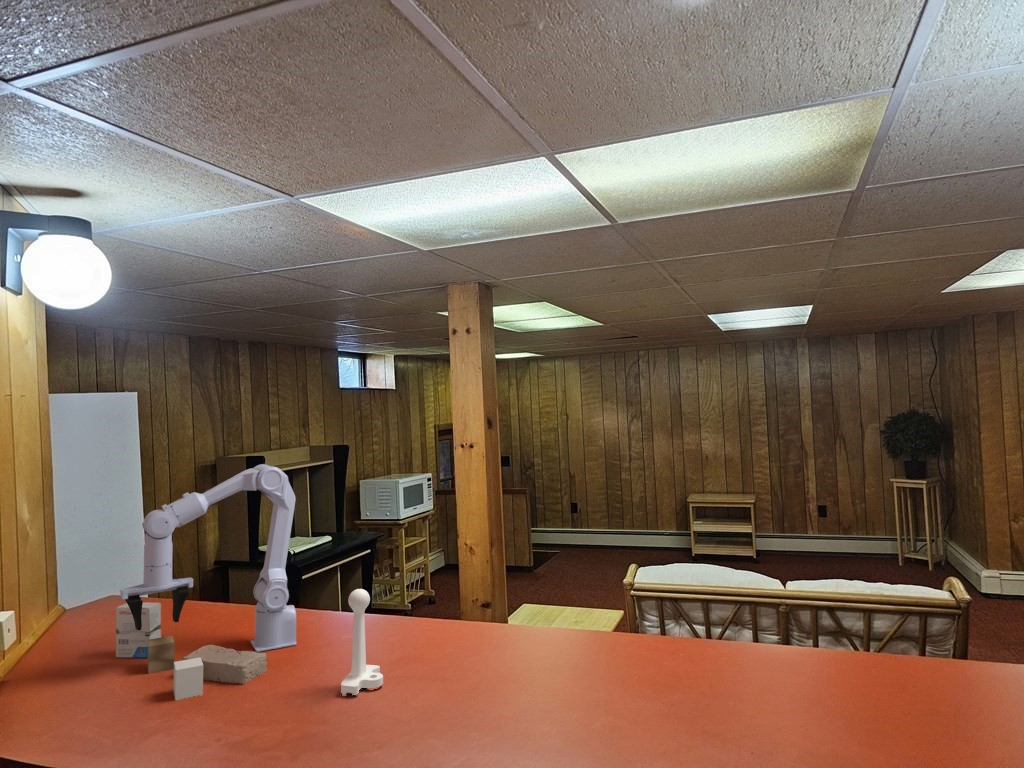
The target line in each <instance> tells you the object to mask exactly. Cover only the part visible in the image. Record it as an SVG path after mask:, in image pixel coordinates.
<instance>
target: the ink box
mask: <svg viewBox="0 0 1024 768" xmlns="http://www.w3.org/2000/svg"><path fill="white" fill-rule="evenodd" d="M161 605H162V603H161V602H146V601H145V602H144V601H143V604H142V613H141V620H142V628H141V630H137V629H135V622H134V618H133V615H132V613H131V610H130V608H129V606H128V604H127V602H125V603H124V604H121V605H119V606H117V607H116V608H115V617H116V618H115V657H116V658H134V659H137V658H139V659H142V658H144V659H148V640H149V639H156V638H162V611H161V610H162V606H161Z"/></svg>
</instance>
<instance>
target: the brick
mask: <svg viewBox="0 0 1024 768" xmlns="http://www.w3.org/2000/svg"><path fill="white" fill-rule="evenodd" d="M199 657H201V660H202V663H203V681H211V680H212V681H211V682H219V681H221V682H220V683H227V682H228V684H238V683H239V685H245V684H244V683H246V684H248V683H249V682H248V681H250V680H251V679H253V678H255V677H256V676H258V677H260V676H261V675H260V674H262V673H264V672H265V671H268V669H267V665H268V662H267V658H268V656H267V653H265V652H256V651H252V650H251V651H249V650H241V651H239V650H235V649H234V648H226V647H223V646H220V645H215V644H208V645H203V646H201V647H199V648H197V649H196V650H193V651H192V652H191V653H189V654H188V655H186V656H182V657H181V658H182V659H181V661H183V660H188V659H194V658H199ZM264 674H265V673H264ZM259 675H260V676H259ZM262 675H263V674H262ZM256 678H257V677H256ZM256 678H255V679H256ZM253 680H254V679H253ZM247 682H248V683H247ZM250 682H251V681H250Z"/></svg>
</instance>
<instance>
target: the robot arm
mask: <svg viewBox="0 0 1024 768" xmlns="http://www.w3.org/2000/svg"><path fill="white" fill-rule="evenodd" d="M257 490H258V491H259V492H261V493H264V495H265V496H266V497H267V498H268V499H269V500H270V501H271V503H272V504H273V505H272V512H271V518H270V524H269V530H268V537H267V538H268V539H267V544H266V550H265V555H264V563H263V568H262V569H261V571H260V572H259V577H258V579H257V581H256V583H255V585H254V587H253V591H252V593H253V596H254V598H255V600H256V601H257V603H256V606H255V607H254V639H252V640H250V644H251V646H252V647H253V649H254V650H255V651H254V652H257V653H261V652H266V651H270V650H274V649H280V648H281V649H282V648H286V647H292V646H296V645H297V611H296V608H295V605H293V604H289V605H287V604H288V601H289V599H290V594H289V592H290V591H289V589H288V576H287V573H286V567H287V566H286V565H287V558H288V553H289V546H290V542H291V541H290V540H291V533H292V526H293V519H294V513H295V507H296V506H295V505H296V495H295V492H294V490H293V488H292V486H291V484H290V481H289V476H288V475H287V474H286V473H285V472H284V471H283V470H281V469H280V468H279V467H277V466H270V465H268V464H265V463H262V464H260V463H259V464H258V465H256V466H254V467H252V468H248V469H246V470H244V471H241V472H240V473H237V474H236V475H234V476H232V477H231V478H228V479H226V480H225V481H222V482H220V483H219V484H217V485H216V486H214V487H212V488H210V489H208V490H206V491H204V492H203V493H199V492H196V491H194V492H191V493H189V492H185V493H183V494H182V495H181V496H182V497H181V498H179V499H177V500H175V501H173V502H171V503H169V504H166V503H164V504H163V505H161V509H155V510H152V511H150V512H149V513H147V515H146V516H145V517H144V519H143V522H142V525H141V526H142V529H143V530H144V532H145V535H144V545H143V583H142V584H138V585H133V586H130V587H126V588H120V594H119V595H120V596H119V598H120V599H121V600H125V603H127V604H128V606H129V608H130V610H131V613H132V615H133V618H134V622H135V629H137V630H141V628H142V620H141V613H142V604H143V602H144V601H143V600H142V598H141V596H146V595H153V594H158V593H163V592H170V591H171V594H172V616H171V617H172V622H174V623H179V621H180V617H181V613H182V609H183V607H184V604H185V602H186V600H187V599H188V597H189V595H190V589H189V588H193V587H194V578H192V577H184V578H173V551H174V550H173V548H174V547H173V539H172V538H173V537H172V536H173V533H174V531H175V528H180V527H182V526H184V525H186V524H188V523H190V522H192V521H194V520H196V519H198V518H200V517H201V516H204V515H206V512H207V511H208V508H209V506H211V505H213V504H215V503H217V502H219V501H221V500H224V499H226V498H228V497H230V496H232V495H234V494H237V493H239V492H241V491H255V492H256V491H257Z"/></svg>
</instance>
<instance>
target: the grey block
mask: <svg viewBox="0 0 1024 768" xmlns="http://www.w3.org/2000/svg"><path fill="white" fill-rule="evenodd" d="M172 690H173V691H172V692H173V696H174V701H181V700H185V699H189V698H188V697H190V698H194V697H193V696H195V697H199V696H198V695H200V696H203V695H204V680H203V663H202V660H201V657H199V658H194V659H188V660H183V661H182V660H179V661H174V669H173V689H172ZM184 698H185V699H184ZM180 699H181V700H180Z"/></svg>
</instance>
